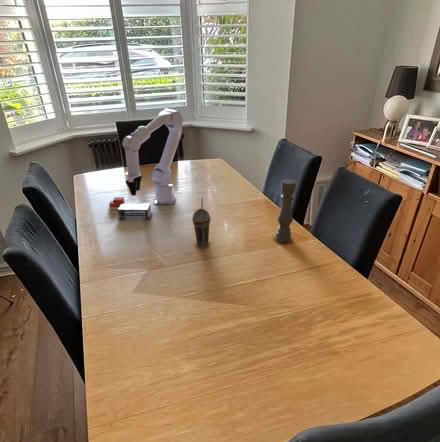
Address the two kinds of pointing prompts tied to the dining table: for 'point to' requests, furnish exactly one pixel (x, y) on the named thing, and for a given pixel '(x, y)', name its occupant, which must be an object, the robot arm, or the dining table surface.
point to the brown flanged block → (134, 210)
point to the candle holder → (285, 211)
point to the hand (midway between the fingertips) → (135, 192)
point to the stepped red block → (116, 202)
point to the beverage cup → (201, 226)
